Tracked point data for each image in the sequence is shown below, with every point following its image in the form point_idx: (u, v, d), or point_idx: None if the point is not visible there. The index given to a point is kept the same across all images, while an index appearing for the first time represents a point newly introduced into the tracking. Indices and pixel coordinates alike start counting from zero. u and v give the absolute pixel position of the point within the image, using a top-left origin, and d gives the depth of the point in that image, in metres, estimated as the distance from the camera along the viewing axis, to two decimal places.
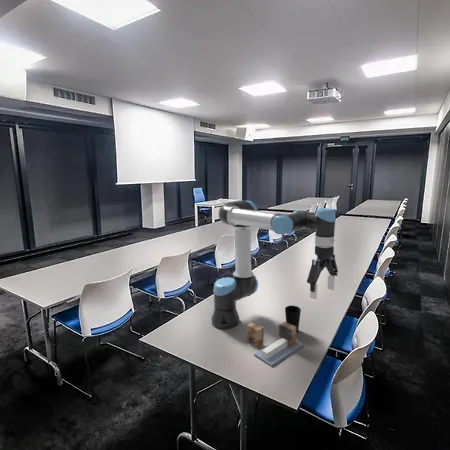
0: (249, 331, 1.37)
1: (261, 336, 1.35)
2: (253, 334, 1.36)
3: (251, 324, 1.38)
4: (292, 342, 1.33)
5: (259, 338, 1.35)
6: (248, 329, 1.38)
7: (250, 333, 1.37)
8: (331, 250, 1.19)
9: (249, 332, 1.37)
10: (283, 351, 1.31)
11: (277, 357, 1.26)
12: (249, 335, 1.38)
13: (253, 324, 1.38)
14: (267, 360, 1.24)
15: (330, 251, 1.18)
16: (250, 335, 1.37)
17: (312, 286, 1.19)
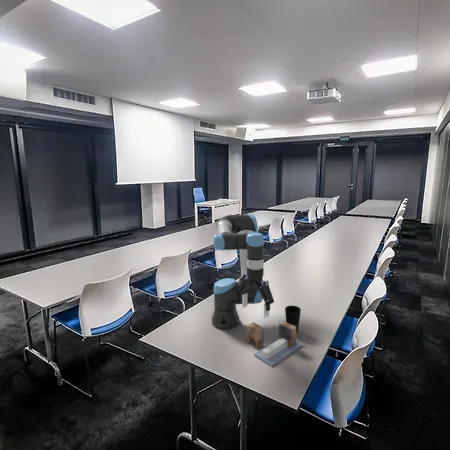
0: (249, 331, 1.37)
1: (261, 336, 1.35)
2: (253, 334, 1.36)
3: (251, 324, 1.38)
4: (292, 342, 1.33)
5: (259, 338, 1.35)
6: (248, 329, 1.38)
7: (250, 333, 1.37)
8: (248, 271, 1.29)
9: (249, 332, 1.37)
10: (283, 351, 1.31)
11: (277, 357, 1.26)
12: (249, 335, 1.38)
13: (253, 324, 1.38)
14: (267, 360, 1.24)
15: (247, 272, 1.30)
16: (250, 335, 1.37)
17: None
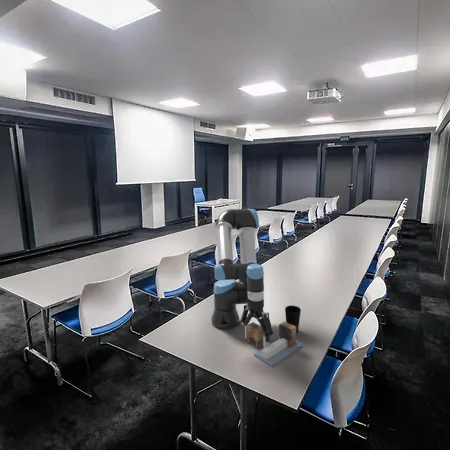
0: (249, 331, 1.37)
1: (261, 336, 1.35)
2: (253, 334, 1.36)
3: (251, 324, 1.38)
4: (292, 342, 1.33)
5: (259, 338, 1.35)
6: (248, 329, 1.37)
7: (250, 333, 1.37)
8: (249, 302, 1.32)
9: (249, 332, 1.37)
10: (283, 351, 1.31)
11: (277, 357, 1.26)
12: (249, 335, 1.38)
13: (253, 324, 1.38)
14: (267, 360, 1.24)
15: (248, 303, 1.33)
16: (250, 335, 1.37)
17: None
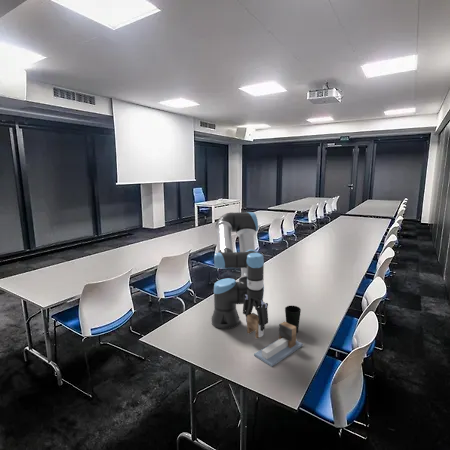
0: (249, 321, 1.37)
1: None
2: (252, 324, 1.35)
3: (251, 315, 1.38)
4: (292, 342, 1.33)
5: None
6: (248, 320, 1.37)
7: (250, 324, 1.37)
8: (248, 291, 1.31)
9: (249, 323, 1.37)
10: (283, 351, 1.31)
11: (277, 357, 1.26)
12: (249, 325, 1.37)
13: (253, 315, 1.38)
14: (267, 360, 1.24)
15: (247, 291, 1.32)
16: (250, 325, 1.37)
17: None
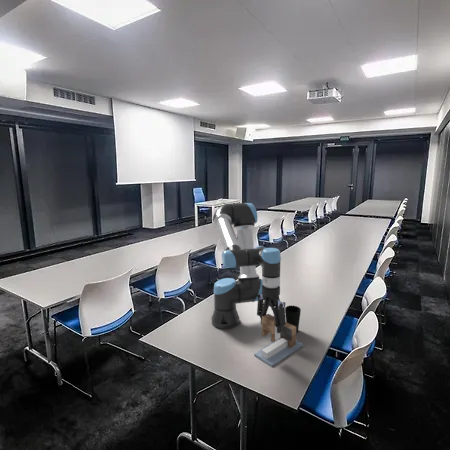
0: (264, 323, 1.26)
1: None
2: (268, 326, 1.24)
3: (266, 316, 1.27)
4: (292, 342, 1.33)
5: None
6: (263, 321, 1.26)
7: (265, 325, 1.26)
8: (264, 289, 1.21)
9: (264, 324, 1.26)
10: (283, 351, 1.31)
11: (277, 357, 1.26)
12: (264, 328, 1.26)
13: (268, 316, 1.27)
14: (267, 360, 1.24)
15: (263, 290, 1.22)
16: (265, 327, 1.26)
17: None
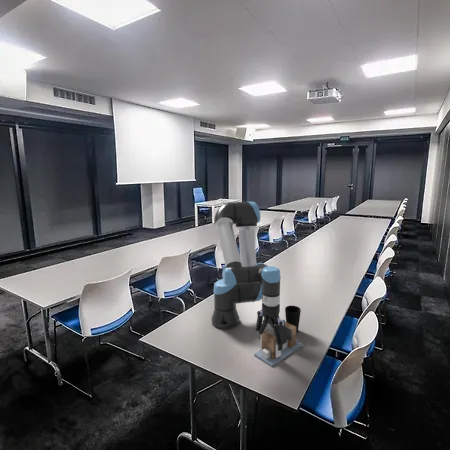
0: (264, 341, 1.27)
1: None
2: (268, 344, 1.26)
3: (266, 333, 1.28)
4: (292, 342, 1.33)
5: (275, 348, 1.25)
6: (263, 338, 1.28)
7: (265, 343, 1.27)
8: (264, 308, 1.22)
9: (263, 342, 1.28)
10: (283, 351, 1.31)
11: None
12: (264, 345, 1.28)
13: (268, 333, 1.28)
14: (267, 360, 1.24)
15: (263, 308, 1.23)
16: (265, 345, 1.27)
17: None
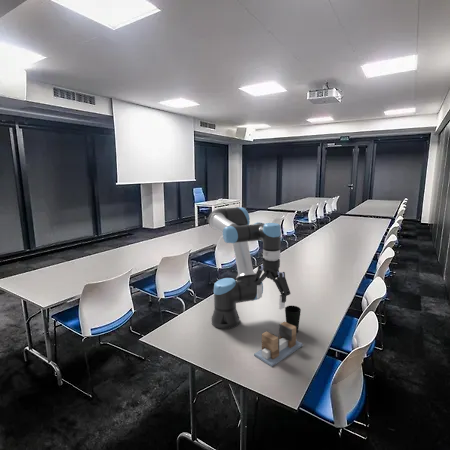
0: (264, 341, 1.27)
1: (277, 346, 1.26)
2: (268, 344, 1.26)
3: (266, 333, 1.28)
4: (292, 342, 1.33)
5: (275, 348, 1.25)
6: (263, 338, 1.28)
7: (265, 343, 1.27)
8: (264, 262, 1.27)
9: (263, 342, 1.28)
10: (283, 351, 1.31)
11: (277, 357, 1.26)
12: (264, 345, 1.28)
13: (268, 333, 1.28)
14: (267, 360, 1.24)
15: (263, 262, 1.28)
16: (265, 345, 1.27)
17: None
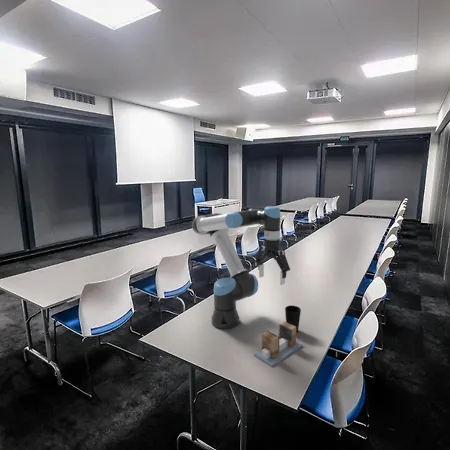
0: (264, 341, 1.27)
1: (277, 346, 1.26)
2: (268, 344, 1.26)
3: (266, 333, 1.28)
4: (292, 342, 1.33)
5: (275, 348, 1.25)
6: (263, 338, 1.28)
7: (265, 343, 1.27)
8: (266, 242, 1.39)
9: (263, 342, 1.28)
10: (283, 351, 1.31)
11: (277, 357, 1.26)
12: (264, 345, 1.28)
13: (268, 333, 1.28)
14: (267, 360, 1.24)
15: (265, 242, 1.40)
16: (265, 345, 1.27)
17: None
